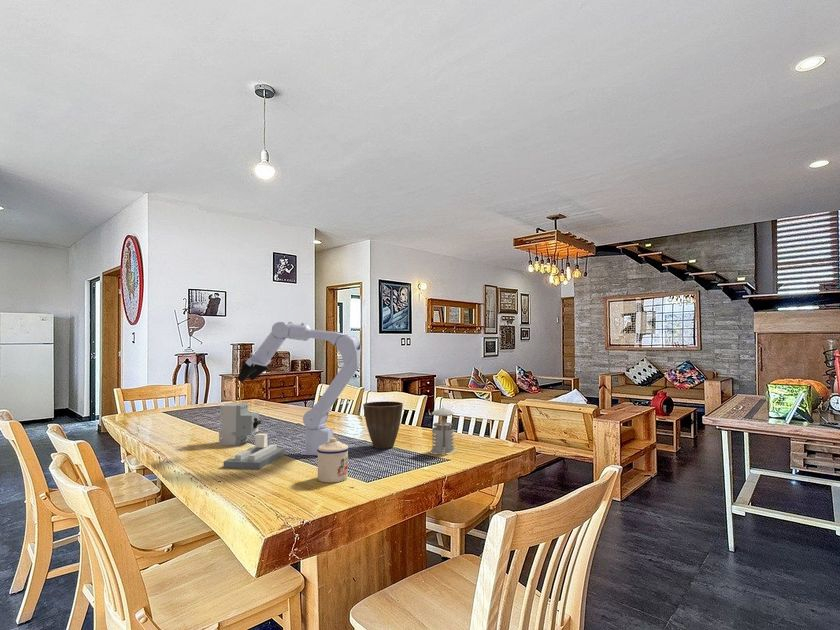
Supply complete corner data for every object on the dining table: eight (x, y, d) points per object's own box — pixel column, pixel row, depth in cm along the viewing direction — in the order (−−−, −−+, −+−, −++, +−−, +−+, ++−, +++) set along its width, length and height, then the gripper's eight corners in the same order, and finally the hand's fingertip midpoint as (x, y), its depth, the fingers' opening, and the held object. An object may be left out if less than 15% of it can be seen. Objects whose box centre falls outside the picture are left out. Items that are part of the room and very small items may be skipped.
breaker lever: (258, 450, 160) (259, 433, 161) (267, 450, 160) (267, 433, 160) (254, 452, 158) (254, 435, 158) (263, 452, 157) (263, 435, 157)
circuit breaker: (255, 445, 178) (256, 405, 179) (218, 445, 179) (219, 405, 179) (262, 440, 186) (263, 403, 186) (227, 440, 186) (227, 403, 187)
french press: (455, 448, 172) (454, 380, 173) (459, 456, 160) (458, 383, 161) (428, 448, 171) (428, 380, 173) (430, 456, 160) (430, 383, 161)
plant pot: (357, 450, 169) (357, 406, 170) (370, 441, 184) (370, 400, 184) (396, 452, 166) (396, 407, 167) (407, 443, 180) (407, 401, 181)
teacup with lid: (343, 484, 130) (343, 441, 130) (312, 482, 131) (312, 441, 132) (354, 471, 142) (354, 433, 142) (326, 470, 143) (326, 432, 143)
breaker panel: (254, 452, 166) (254, 442, 167) (286, 453, 165) (286, 443, 165) (223, 467, 147) (223, 456, 147) (259, 469, 145) (259, 457, 145)
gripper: (268, 343, 177) (247, 371, 177) (249, 342, 163) (226, 373, 163) (282, 354, 176) (261, 383, 176) (264, 355, 162) (241, 386, 162)
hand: (245, 379), depth 170 cm, fingers open, 7 cm apart
